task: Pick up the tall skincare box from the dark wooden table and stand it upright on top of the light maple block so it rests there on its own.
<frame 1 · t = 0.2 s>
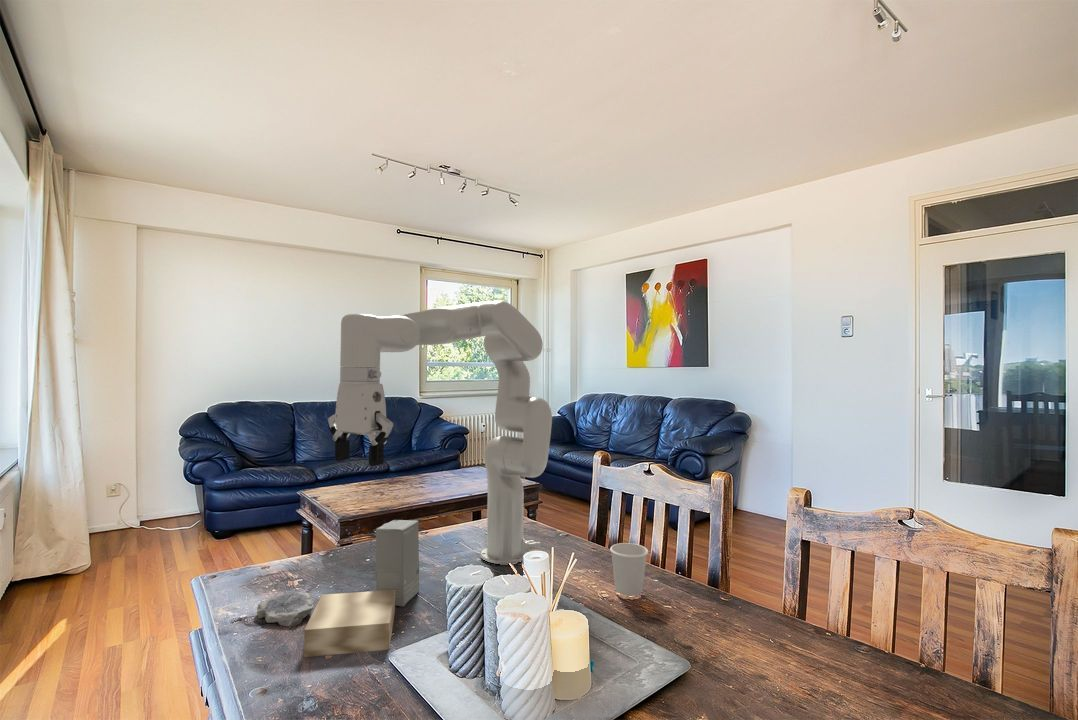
hand: (358, 462, 103), 31 cm above the table, tool pointing down, fingers open, 9 cm apart
maple block: (353, 635, 97), on the table
skincare box: (397, 598, 112), on the table
dixie cup: (628, 595, 115), on the table
grey rock: (287, 616, 104), on the table
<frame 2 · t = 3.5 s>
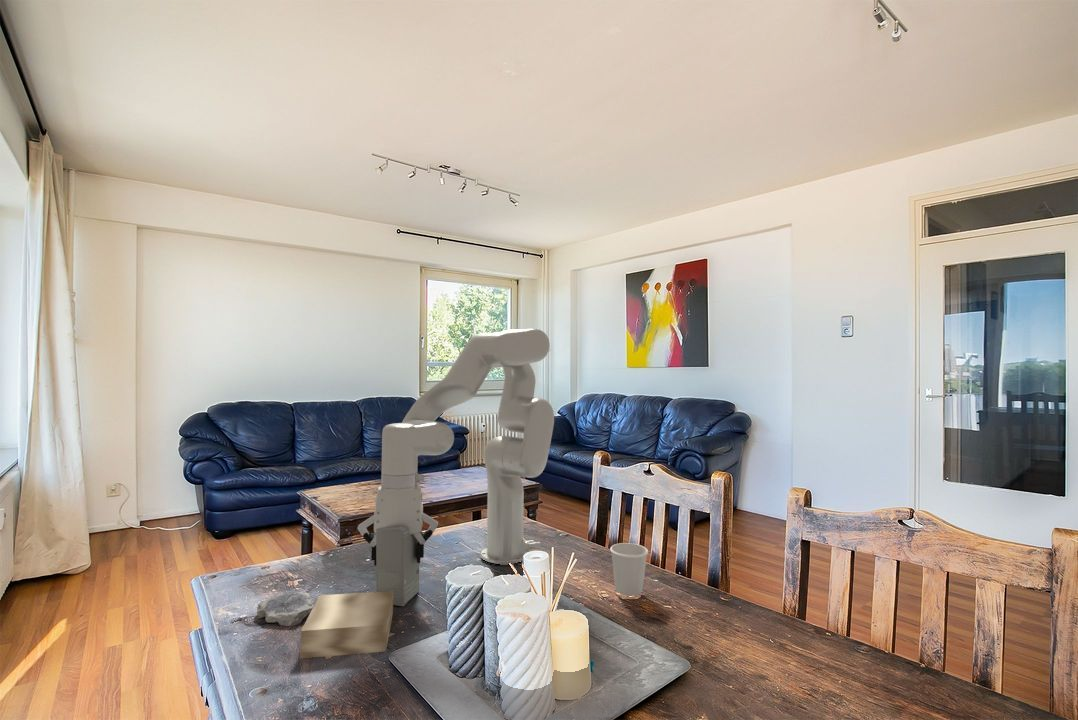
hand: (397, 561, 112), 8 cm above the table, tool pointing down, fingers closed on skincare box, 8 cm apart
skincare box: (397, 598, 112), on the table, touching gripper
everything else where it was.
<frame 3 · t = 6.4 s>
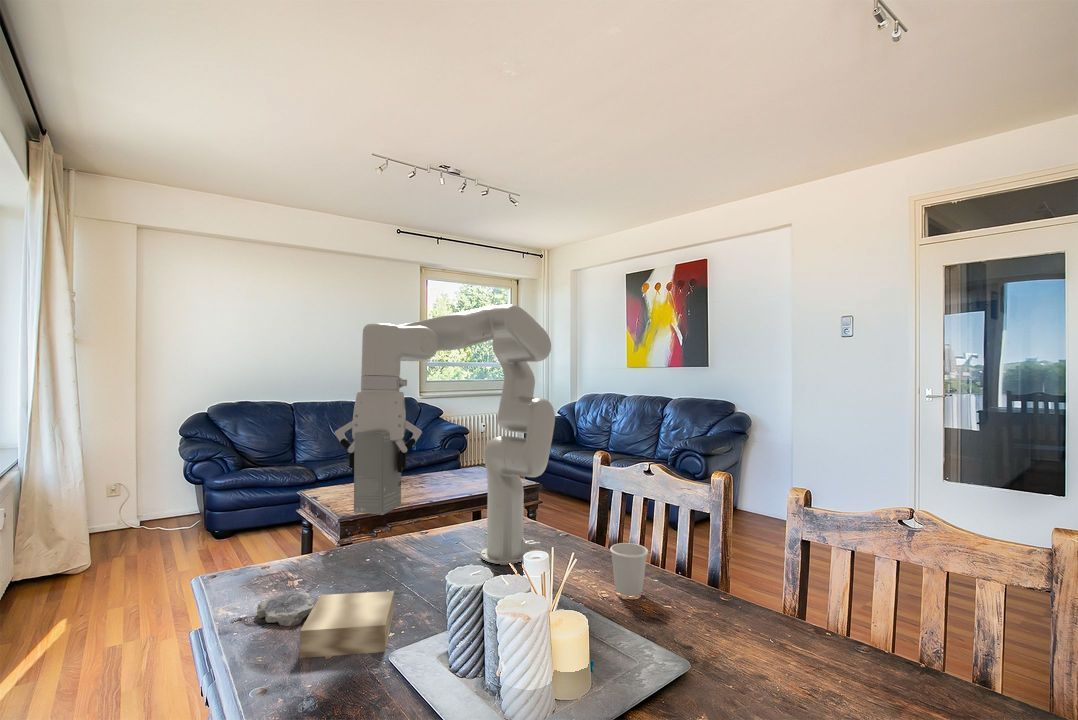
hand: (377, 471, 104), 29 cm above the table, tool pointing down, fingers closed on skincare box, 8 cm apart
skincare box: (376, 510, 104), point 21 cm above the table, touching gripper
everything else where it was.
when the fingers open (14 cm above the table, at t = 9.4 s): skincare box drops 2 cm, point 4 cm above the table.
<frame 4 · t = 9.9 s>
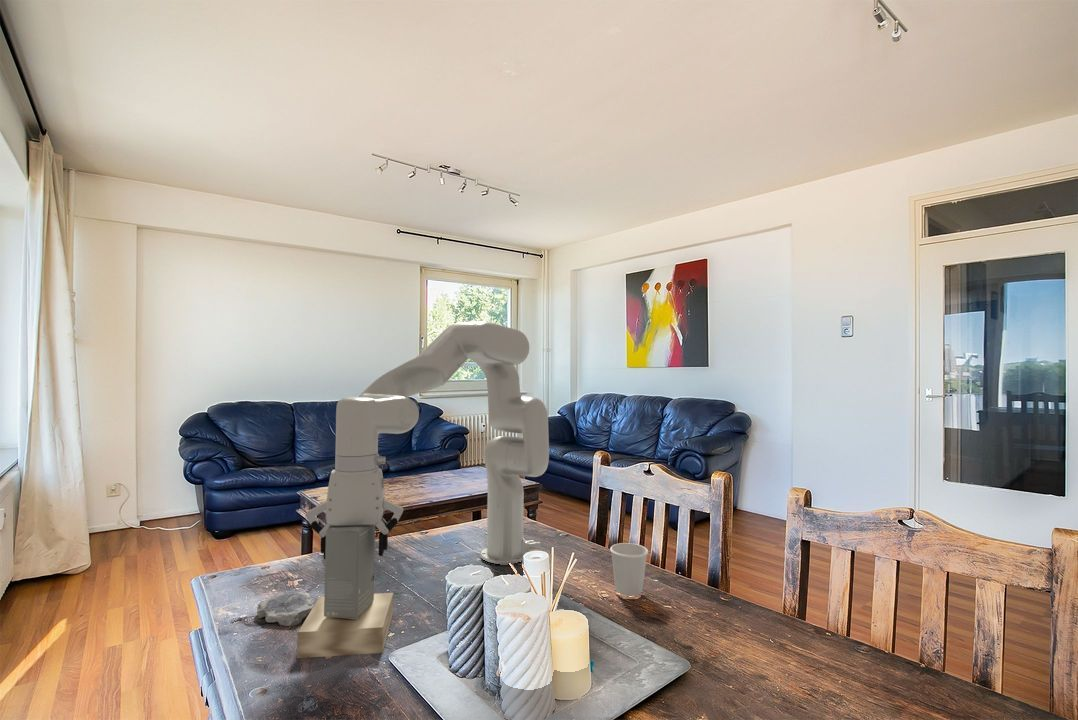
hand: (354, 555, 97), 14 cm above the table, tool pointing down, fingers open, 9 cm apart
skincare box: (348, 609, 97), point 4 cm above the table
everything else where it was.
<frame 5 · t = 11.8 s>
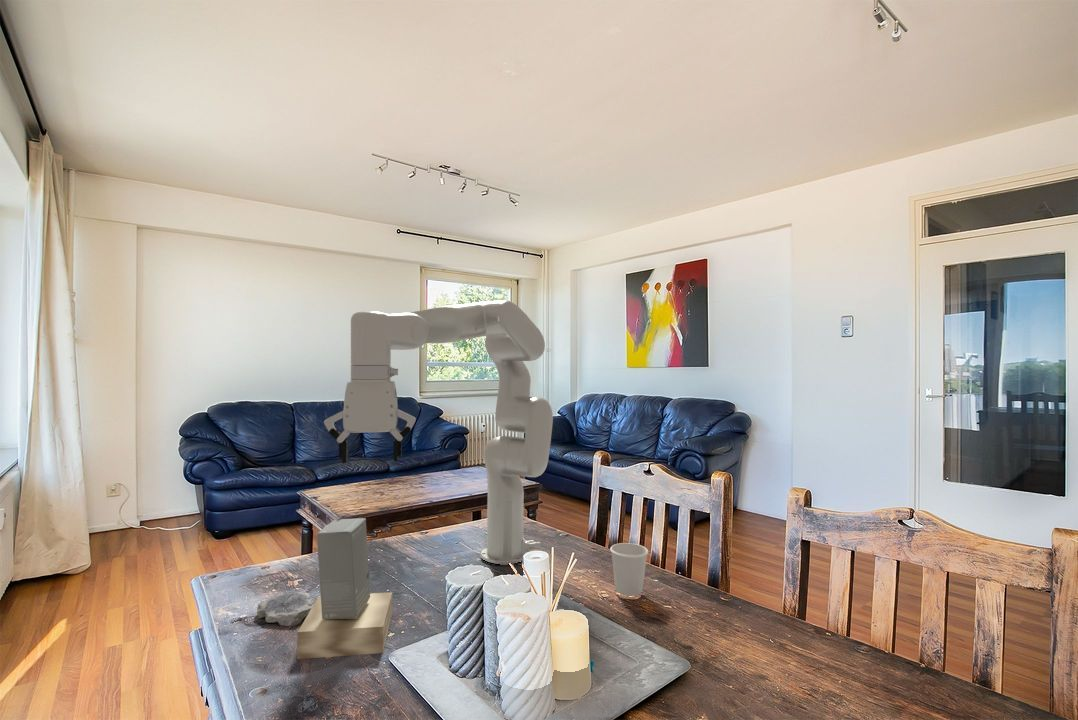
hand: (370, 461, 103), 31 cm above the table, tool pointing down, fingers open, 9 cm apart
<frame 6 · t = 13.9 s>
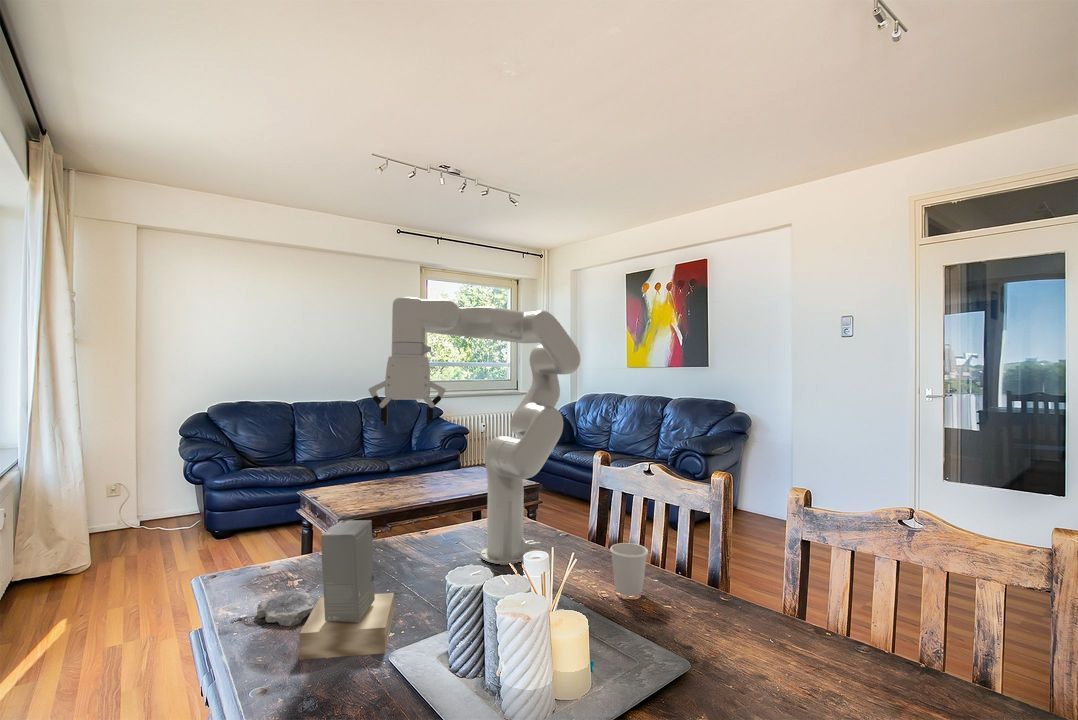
hand: (407, 424, 121), 36 cm above the table, tool pointing down, fingers open, 9 cm apart
maple block: (350, 638, 96), on the table, touching skincare box
skincare box: (349, 611, 96), point 5 cm above the table, touching maple block
everything else where it was.
at the end: skincare box inside the target area on the maple block (0.4 cm from its centre), point 5.1 cm above the maple block's base; skincare box tilted 3°; the gripper is holding nothing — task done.
